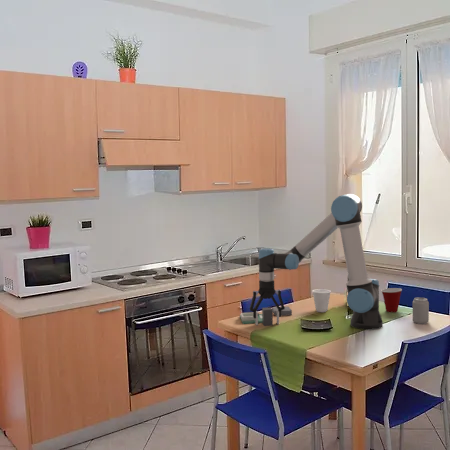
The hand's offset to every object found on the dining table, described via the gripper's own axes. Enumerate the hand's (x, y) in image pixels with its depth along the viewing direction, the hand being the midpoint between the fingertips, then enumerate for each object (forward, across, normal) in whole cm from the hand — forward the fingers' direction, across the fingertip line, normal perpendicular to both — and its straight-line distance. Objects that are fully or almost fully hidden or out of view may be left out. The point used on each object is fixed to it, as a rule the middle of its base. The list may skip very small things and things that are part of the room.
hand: (267, 324), depth 270 cm
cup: (0, -33, -21) cm, 39 cm away
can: (0, -74, +10) cm, 75 cm away
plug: (0, 0, 0) cm, 0 cm away
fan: (0, -11, -20) cm, 23 cm away
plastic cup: (0, -69, -14) cm, 70 cm away
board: (0, +6, -10) cm, 12 cm away
